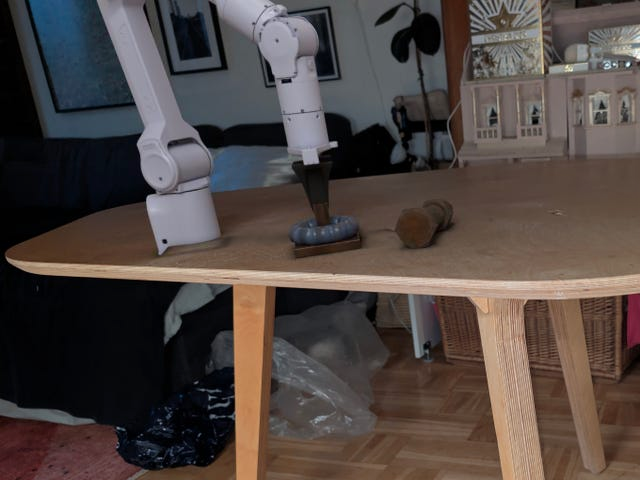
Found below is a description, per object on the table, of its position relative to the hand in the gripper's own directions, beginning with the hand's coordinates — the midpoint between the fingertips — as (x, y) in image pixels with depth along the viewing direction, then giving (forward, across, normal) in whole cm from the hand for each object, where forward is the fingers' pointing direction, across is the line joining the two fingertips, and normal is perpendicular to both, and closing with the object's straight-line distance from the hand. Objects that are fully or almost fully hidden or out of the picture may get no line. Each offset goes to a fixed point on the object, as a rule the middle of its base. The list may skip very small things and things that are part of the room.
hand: (320, 209), depth 103 cm
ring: (+2, -4, 0) cm, 4 cm away
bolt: (+5, -7, -15) cm, 17 cm away
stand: (+5, -4, 0) cm, 6 cm away
